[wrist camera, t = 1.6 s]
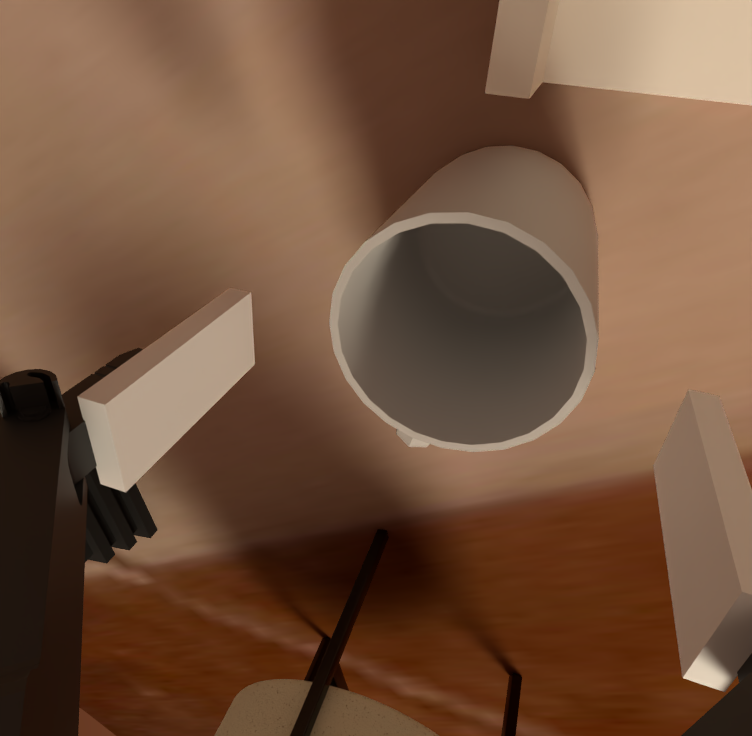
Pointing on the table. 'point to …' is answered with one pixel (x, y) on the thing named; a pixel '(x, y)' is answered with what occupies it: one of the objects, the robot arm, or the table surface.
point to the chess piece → (113, 519)
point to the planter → (333, 690)
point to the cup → (475, 304)
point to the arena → (625, 47)
